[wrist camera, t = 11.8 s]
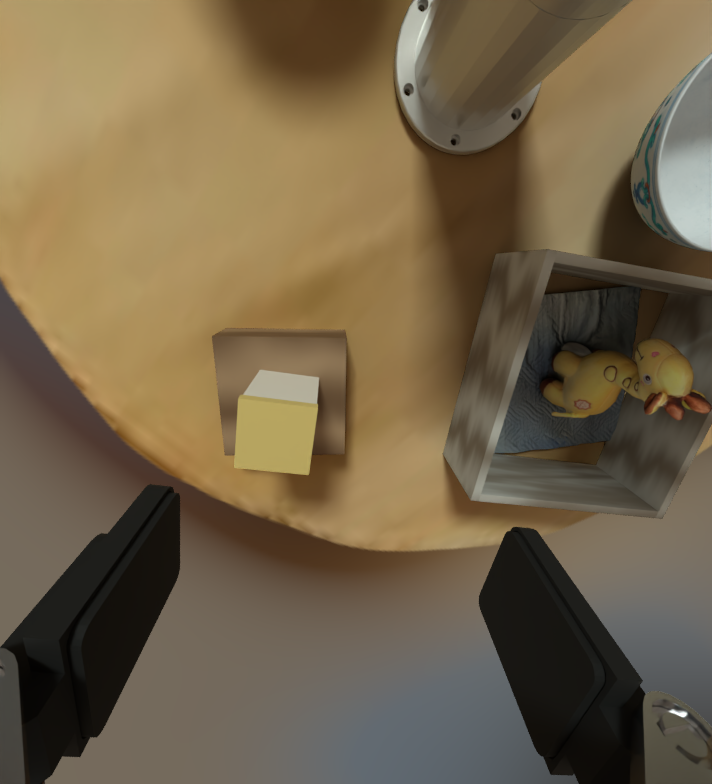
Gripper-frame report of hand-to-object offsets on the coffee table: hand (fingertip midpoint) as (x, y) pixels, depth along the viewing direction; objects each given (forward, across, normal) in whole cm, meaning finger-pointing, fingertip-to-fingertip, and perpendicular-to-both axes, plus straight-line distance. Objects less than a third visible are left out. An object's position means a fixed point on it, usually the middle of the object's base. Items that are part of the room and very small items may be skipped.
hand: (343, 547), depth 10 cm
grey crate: (+29, -24, +1) cm, 38 cm away
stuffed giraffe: (+29, -24, +1) cm, 38 cm away
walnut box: (+29, +5, +6) cm, 30 cm away
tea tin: (+24, +4, +6) cm, 25 cm away
